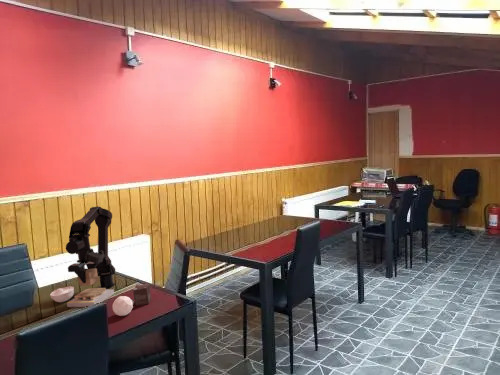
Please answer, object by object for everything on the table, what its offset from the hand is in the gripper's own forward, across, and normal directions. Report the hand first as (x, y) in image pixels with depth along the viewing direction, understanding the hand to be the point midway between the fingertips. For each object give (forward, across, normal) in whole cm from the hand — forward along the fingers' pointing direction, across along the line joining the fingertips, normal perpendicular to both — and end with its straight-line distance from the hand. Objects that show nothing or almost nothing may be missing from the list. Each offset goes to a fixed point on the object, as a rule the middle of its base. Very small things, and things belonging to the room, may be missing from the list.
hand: (88, 280), depth 192 cm
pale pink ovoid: (+10, -15, -27) cm, 32 cm away
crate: (+1, 0, 0) cm, 1 cm away
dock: (+9, 0, 0) cm, 9 cm away
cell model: (+10, 0, +15) cm, 18 cm away
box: (+10, -4, -29) cm, 31 cm away
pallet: (+7, 0, 0) cm, 7 cm away
